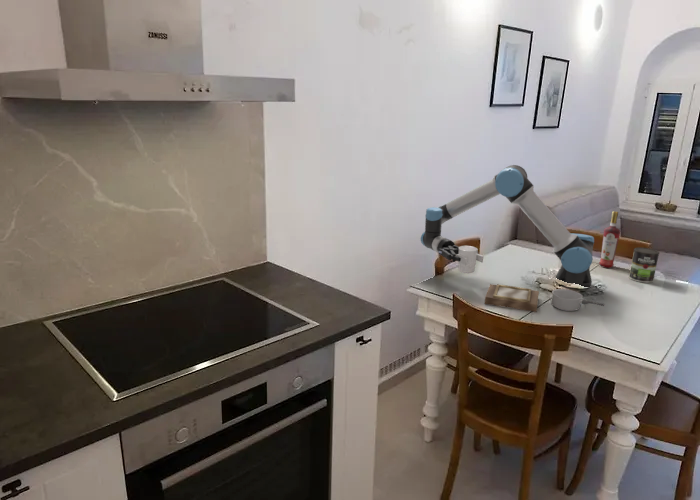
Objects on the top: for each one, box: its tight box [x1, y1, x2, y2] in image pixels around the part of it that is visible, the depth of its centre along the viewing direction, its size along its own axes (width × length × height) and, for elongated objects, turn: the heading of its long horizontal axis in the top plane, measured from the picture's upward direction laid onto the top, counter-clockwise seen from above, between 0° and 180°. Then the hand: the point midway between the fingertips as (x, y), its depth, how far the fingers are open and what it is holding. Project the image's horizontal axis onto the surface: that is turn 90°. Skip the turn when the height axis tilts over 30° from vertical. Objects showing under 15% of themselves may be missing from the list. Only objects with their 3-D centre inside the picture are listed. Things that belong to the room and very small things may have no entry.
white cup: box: [457, 245, 479, 274], centre depth 219 cm, size 8×8×10 cm
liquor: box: [598, 210, 621, 269], centre depth 254 cm, size 7×7×28 cm
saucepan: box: [551, 288, 605, 312], centre depth 203 cm, size 12×20×6 cm, turn 45°
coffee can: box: [628, 247, 660, 284], centre depth 238 cm, size 10×10×14 cm
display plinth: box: [484, 283, 540, 313], centre depth 212 cm, size 20×16×4 cm
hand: (474, 260), depth 214 cm, fingers closed on white cup, 8 cm apart
